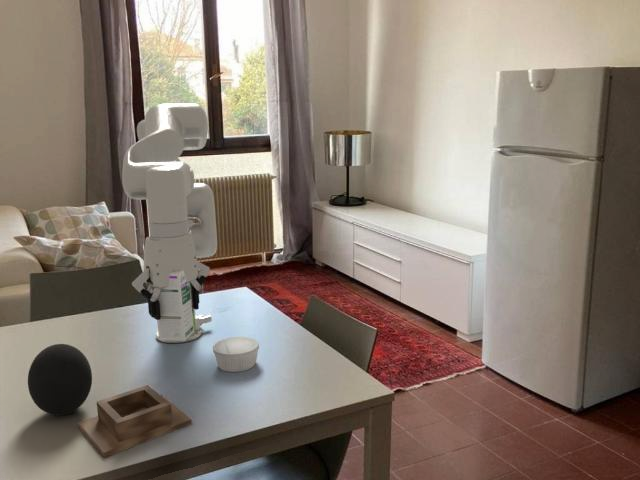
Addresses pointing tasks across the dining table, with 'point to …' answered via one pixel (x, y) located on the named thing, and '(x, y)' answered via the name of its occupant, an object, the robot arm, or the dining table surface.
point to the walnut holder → (132, 420)
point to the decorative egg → (59, 379)
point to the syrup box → (176, 309)
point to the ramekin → (236, 353)
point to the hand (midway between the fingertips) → (175, 312)
